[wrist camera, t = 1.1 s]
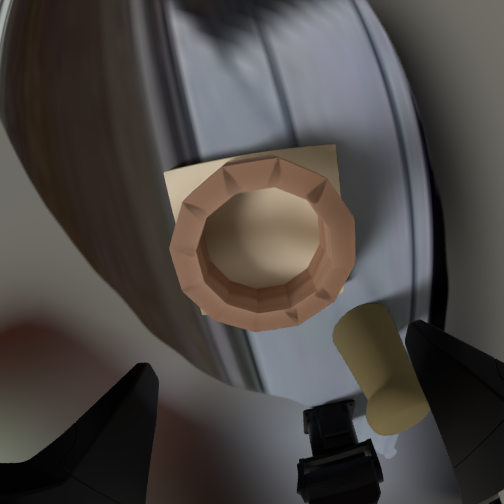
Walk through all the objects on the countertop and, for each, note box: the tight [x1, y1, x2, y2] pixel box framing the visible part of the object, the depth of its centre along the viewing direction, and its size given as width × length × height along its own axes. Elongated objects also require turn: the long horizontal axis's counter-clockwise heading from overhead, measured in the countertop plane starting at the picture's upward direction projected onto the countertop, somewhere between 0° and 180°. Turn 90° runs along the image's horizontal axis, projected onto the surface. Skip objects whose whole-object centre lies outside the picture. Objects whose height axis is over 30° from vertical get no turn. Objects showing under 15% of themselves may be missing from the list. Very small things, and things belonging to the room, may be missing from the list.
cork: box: [333, 303, 430, 436], centre depth 18 cm, size 6×6×11 cm
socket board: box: [164, 144, 355, 332], centre depth 17 cm, size 11×11×4 cm
